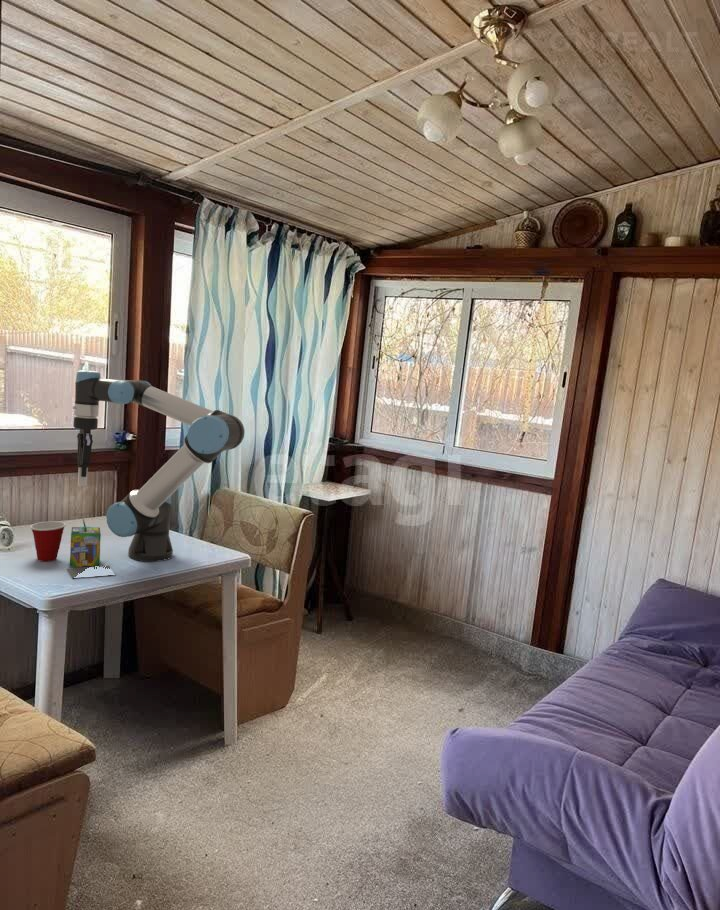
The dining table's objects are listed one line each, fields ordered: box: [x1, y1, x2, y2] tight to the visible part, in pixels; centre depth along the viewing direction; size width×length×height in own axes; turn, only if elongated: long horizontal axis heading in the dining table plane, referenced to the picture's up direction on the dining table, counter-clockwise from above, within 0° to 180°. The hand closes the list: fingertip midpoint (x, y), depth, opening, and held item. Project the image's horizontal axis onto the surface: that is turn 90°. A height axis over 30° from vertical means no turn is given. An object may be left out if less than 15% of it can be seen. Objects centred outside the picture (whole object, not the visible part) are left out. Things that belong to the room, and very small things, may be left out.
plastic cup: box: [29, 520, 67, 562], centre depth 227 cm, size 11×11×12 cm
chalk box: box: [69, 518, 102, 568], centre depth 227 cm, size 9×9×15 cm
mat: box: [66, 565, 111, 579], centre depth 219 cm, size 13×10×1 cm
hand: (82, 485), depth 233 cm, fingers closed
